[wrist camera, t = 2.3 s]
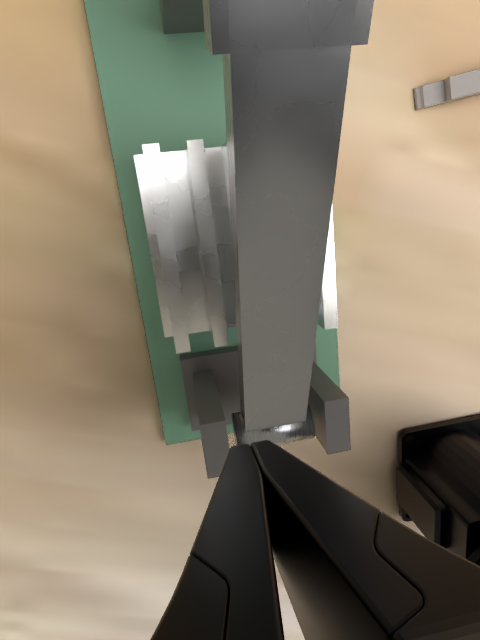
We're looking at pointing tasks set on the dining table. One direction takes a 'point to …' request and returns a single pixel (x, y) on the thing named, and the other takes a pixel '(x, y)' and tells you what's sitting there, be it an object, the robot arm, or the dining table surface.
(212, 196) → the heatsink
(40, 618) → the dining table surface
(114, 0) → the board
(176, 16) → the post
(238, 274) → the strap
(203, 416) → the hinge post
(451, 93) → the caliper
